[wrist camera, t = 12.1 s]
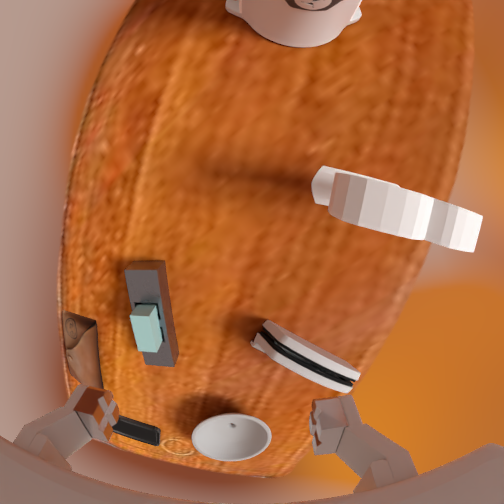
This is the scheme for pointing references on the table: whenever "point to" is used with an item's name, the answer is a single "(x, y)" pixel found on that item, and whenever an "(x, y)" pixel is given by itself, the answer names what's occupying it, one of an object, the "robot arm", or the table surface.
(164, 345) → the grey rectangular block
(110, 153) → the table surface
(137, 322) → the pale teal plug block
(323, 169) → the heart sculpture
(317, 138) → the table surface
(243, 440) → the dish
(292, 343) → the napkin holder
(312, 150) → the table surface
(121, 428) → the phone
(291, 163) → the table surface
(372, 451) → the robot arm
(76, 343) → the sunglasses case
